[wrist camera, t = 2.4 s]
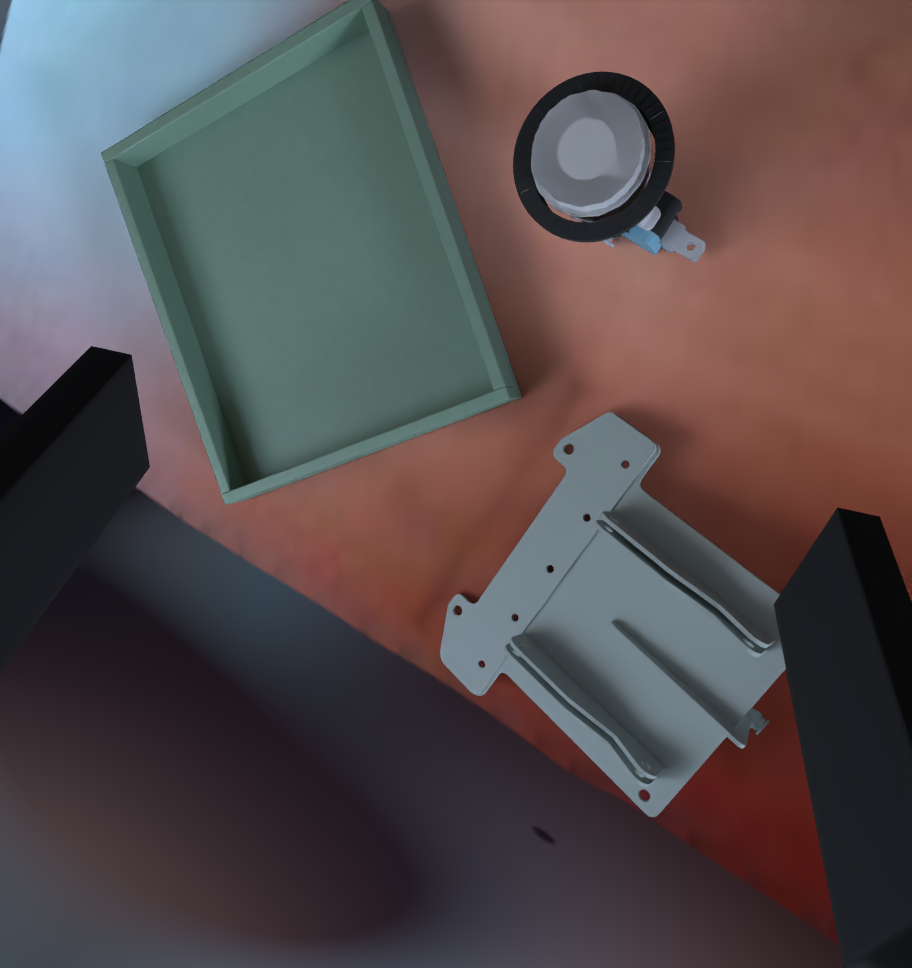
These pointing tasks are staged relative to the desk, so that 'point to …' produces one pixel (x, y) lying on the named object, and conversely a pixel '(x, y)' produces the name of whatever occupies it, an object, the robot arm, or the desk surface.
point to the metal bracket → (623, 623)
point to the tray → (310, 258)
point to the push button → (601, 165)
